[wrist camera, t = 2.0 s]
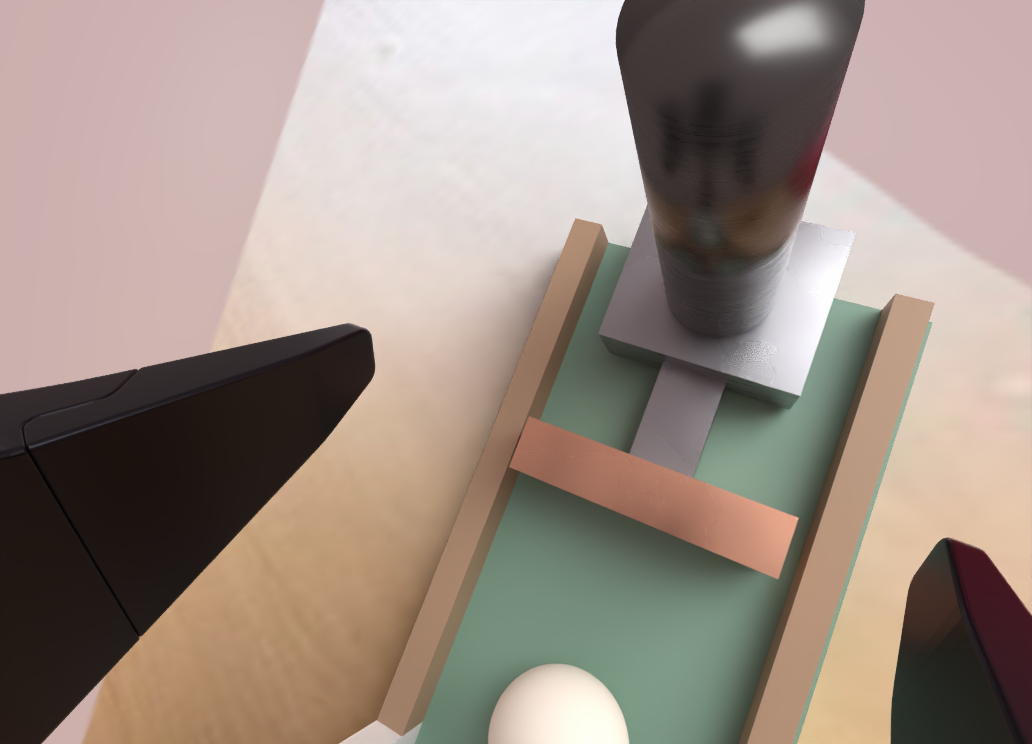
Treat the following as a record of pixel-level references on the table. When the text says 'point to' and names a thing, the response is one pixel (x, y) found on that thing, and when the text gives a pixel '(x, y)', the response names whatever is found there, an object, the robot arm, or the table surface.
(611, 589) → the pitch
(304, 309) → the table surface
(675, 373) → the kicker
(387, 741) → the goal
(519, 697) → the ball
